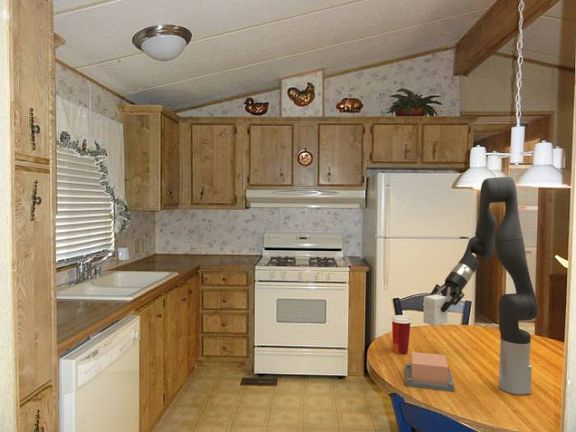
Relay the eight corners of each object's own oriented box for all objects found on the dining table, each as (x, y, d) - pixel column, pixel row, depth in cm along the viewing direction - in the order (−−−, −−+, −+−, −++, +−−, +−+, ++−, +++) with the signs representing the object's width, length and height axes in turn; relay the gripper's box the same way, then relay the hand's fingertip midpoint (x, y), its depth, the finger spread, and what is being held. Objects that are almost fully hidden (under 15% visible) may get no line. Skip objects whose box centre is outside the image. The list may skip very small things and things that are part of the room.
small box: (435, 319, 177) (436, 294, 177) (447, 323, 173) (448, 296, 172) (422, 322, 173) (423, 296, 173) (434, 326, 168) (435, 299, 168)
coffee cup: (412, 351, 187) (413, 316, 186) (407, 357, 180) (408, 321, 179) (393, 347, 191) (394, 313, 191) (387, 353, 184) (388, 318, 183)
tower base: (449, 373, 164) (450, 353, 163) (454, 391, 148) (455, 370, 148) (405, 368, 168) (405, 349, 167) (405, 386, 152) (406, 364, 152)
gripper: (441, 268, 183) (418, 298, 178) (468, 274, 169) (444, 307, 165) (450, 280, 185) (428, 310, 181) (478, 286, 172) (454, 319, 168)
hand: (436, 308), depth 173 cm, fingers closed on small box, 6 cm apart
